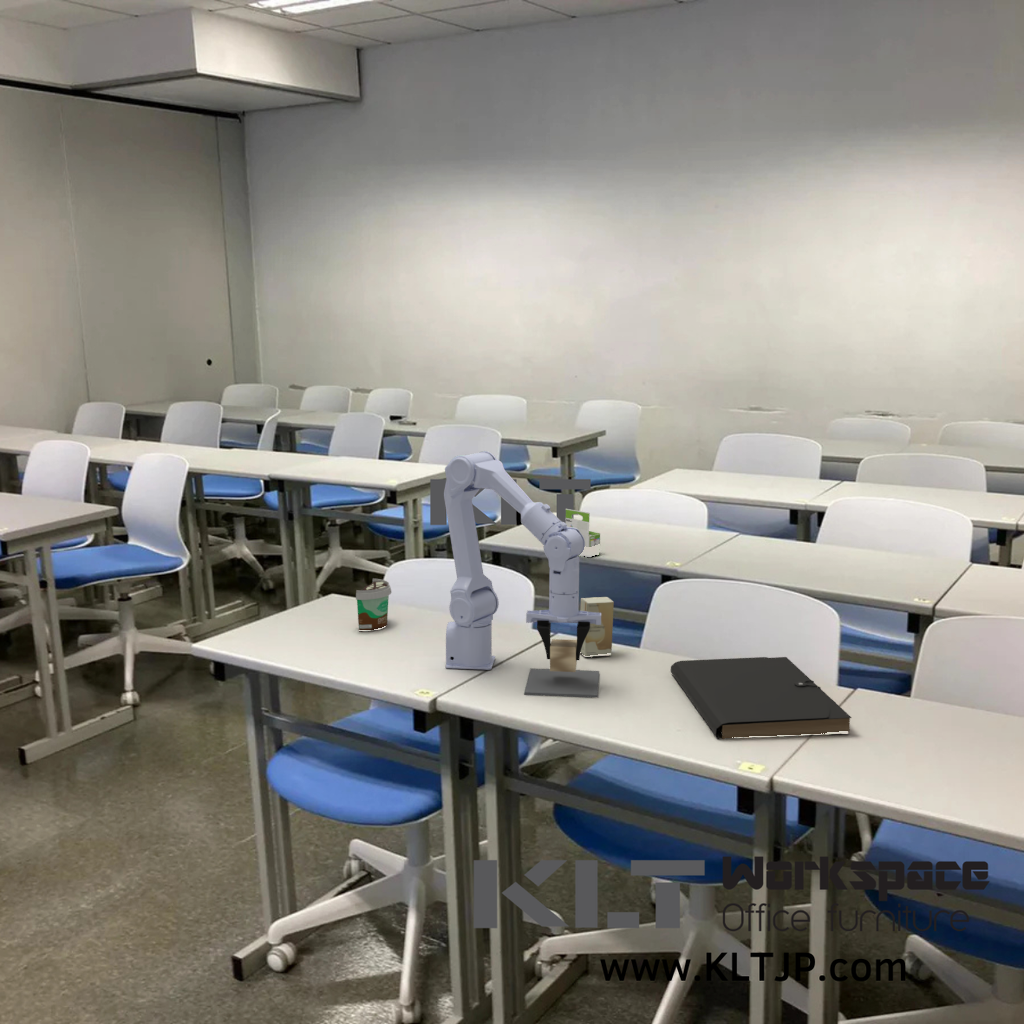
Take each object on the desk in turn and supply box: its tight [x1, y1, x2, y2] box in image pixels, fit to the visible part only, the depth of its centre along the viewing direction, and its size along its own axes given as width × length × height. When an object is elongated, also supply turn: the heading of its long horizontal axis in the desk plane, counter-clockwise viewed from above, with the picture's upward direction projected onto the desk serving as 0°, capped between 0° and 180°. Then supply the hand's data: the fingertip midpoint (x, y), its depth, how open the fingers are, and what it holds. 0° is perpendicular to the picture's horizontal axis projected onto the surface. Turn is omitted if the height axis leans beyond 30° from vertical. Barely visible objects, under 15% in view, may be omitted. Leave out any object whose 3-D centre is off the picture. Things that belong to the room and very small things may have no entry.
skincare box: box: [579, 596, 615, 656], centre depth 222 cm, size 6×4×12 cm
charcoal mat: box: [523, 667, 600, 698], centre depth 205 cm, size 14×14×1 cm
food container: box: [355, 578, 392, 631], centre depth 242 cm, size 12×6×10 cm, turn 168°
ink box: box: [565, 508, 601, 547], centre depth 318 cm, size 10×5×14 cm, turn 43°
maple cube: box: [549, 638, 578, 672], centre depth 205 cm, size 5×5×5 cm
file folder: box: [670, 656, 852, 740], centre depth 196 cm, size 33×4×24 cm
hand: (563, 658), depth 205 cm, fingers closed on maple cube, 5 cm apart
